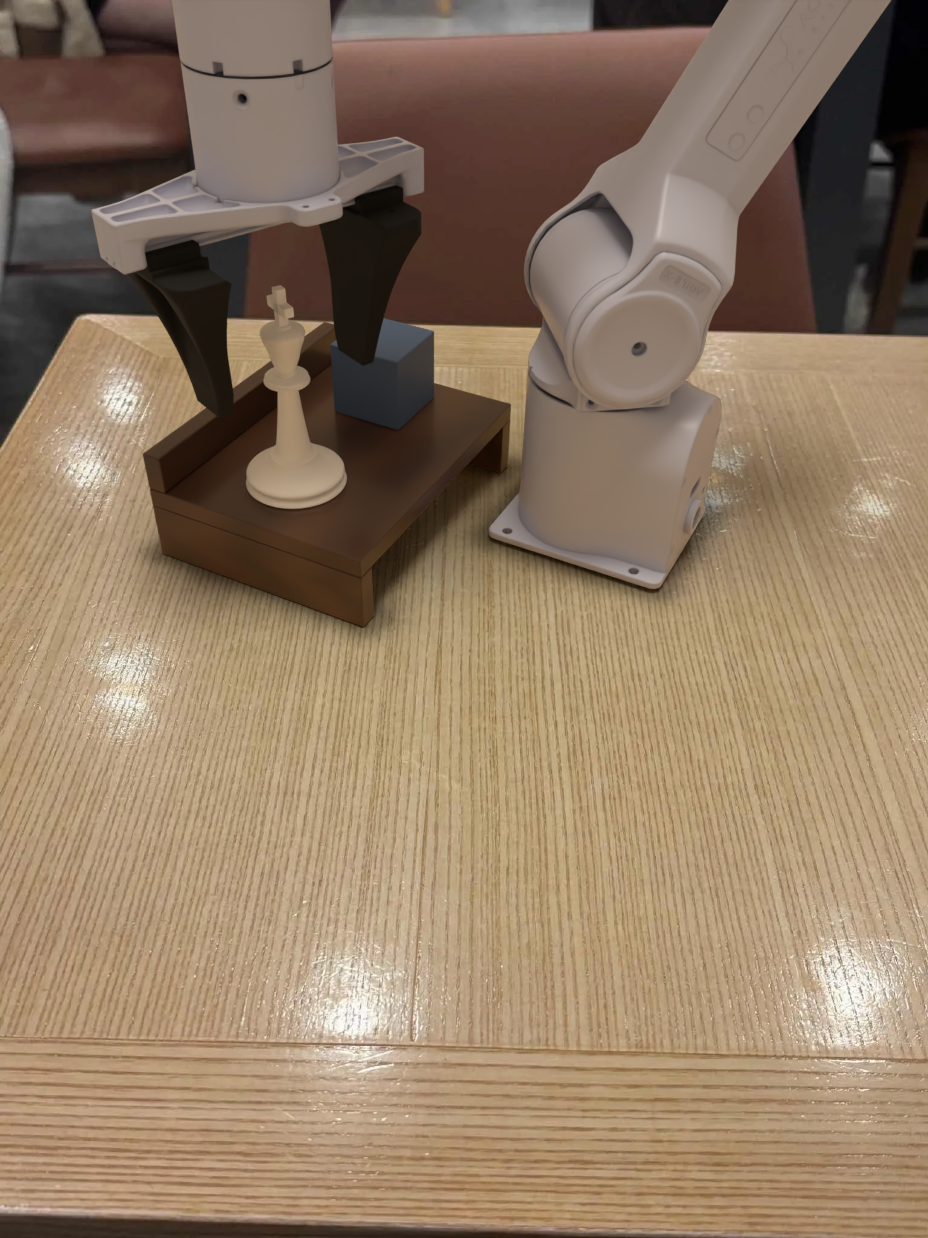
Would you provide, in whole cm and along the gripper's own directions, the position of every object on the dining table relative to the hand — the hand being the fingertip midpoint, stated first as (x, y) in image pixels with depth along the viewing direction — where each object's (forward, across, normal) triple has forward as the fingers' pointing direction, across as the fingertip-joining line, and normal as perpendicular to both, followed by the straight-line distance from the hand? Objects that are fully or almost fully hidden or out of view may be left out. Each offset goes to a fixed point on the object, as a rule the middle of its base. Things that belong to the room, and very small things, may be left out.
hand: (288, 380), depth 50 cm
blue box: (+6, +8, +3) cm, 10 cm away
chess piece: (+6, 0, 0) cm, 6 cm away
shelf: (+10, +4, +2) cm, 10 cm away
